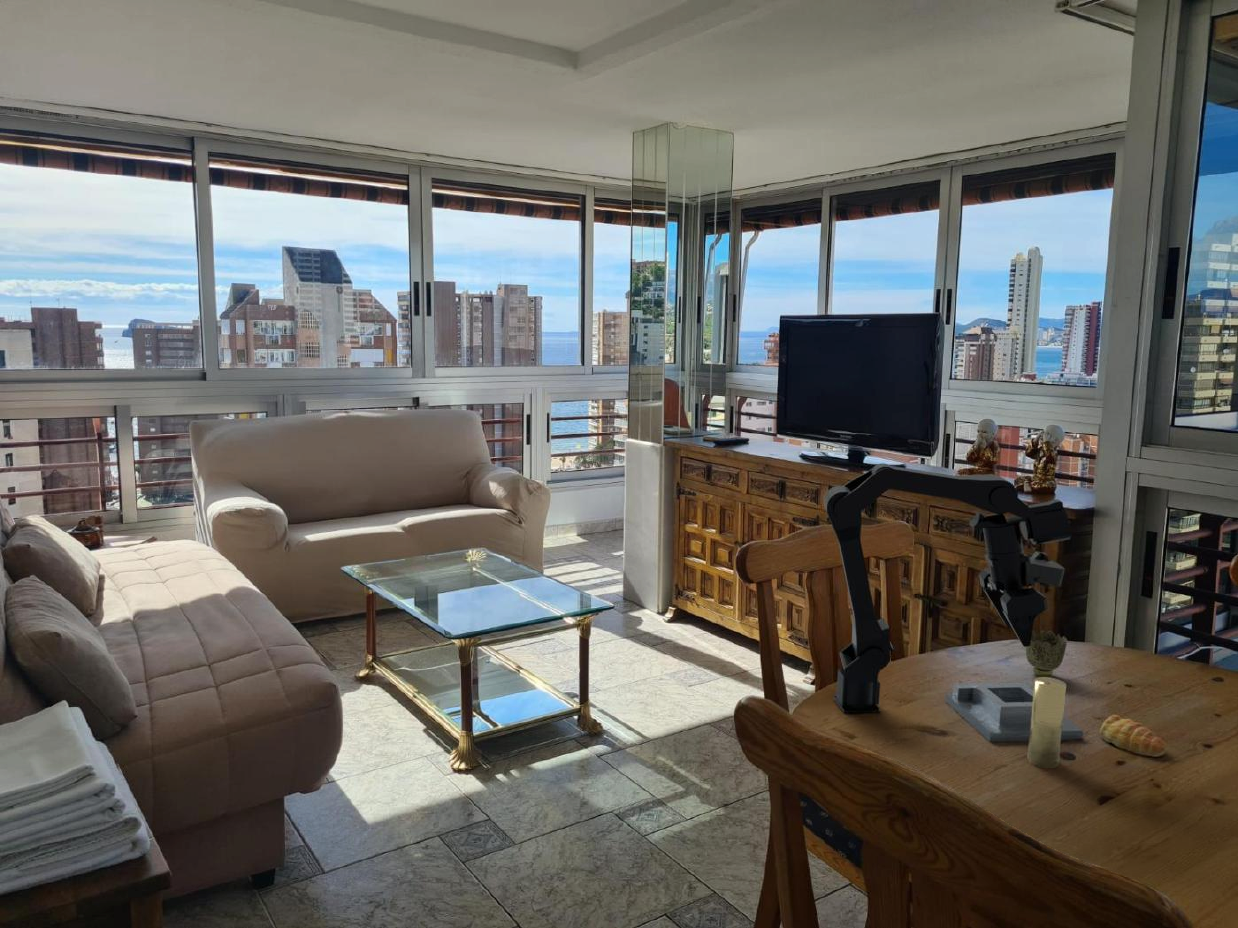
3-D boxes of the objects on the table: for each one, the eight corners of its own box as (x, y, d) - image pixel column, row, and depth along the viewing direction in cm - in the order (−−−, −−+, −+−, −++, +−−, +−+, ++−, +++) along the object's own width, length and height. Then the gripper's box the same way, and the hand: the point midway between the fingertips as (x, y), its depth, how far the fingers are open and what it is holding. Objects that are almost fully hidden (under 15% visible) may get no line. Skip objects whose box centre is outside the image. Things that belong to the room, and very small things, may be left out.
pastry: (1174, 753, 145) (1177, 731, 145) (1152, 763, 142) (1154, 740, 141) (1117, 730, 153) (1119, 709, 153) (1094, 739, 150) (1096, 718, 149)
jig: (989, 741, 148) (991, 715, 147) (945, 701, 163) (947, 677, 163) (1082, 739, 149) (1084, 713, 149) (1029, 699, 165) (1031, 675, 164)
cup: (1055, 668, 180) (1059, 630, 179) (1069, 683, 173) (1073, 643, 171) (1016, 666, 181) (1019, 628, 179) (1029, 681, 173) (1032, 641, 172)
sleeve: (1037, 768, 139) (1044, 688, 137) (1021, 755, 143) (1029, 677, 141) (1064, 767, 139) (1072, 687, 137) (1048, 754, 144) (1055, 676, 142)
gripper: (1074, 555, 143) (1088, 648, 144) (1037, 528, 161) (1050, 612, 163) (1000, 566, 144) (1015, 659, 146) (972, 539, 163) (985, 622, 165)
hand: (1018, 636), depth 155 cm, fingers open, 9 cm apart
